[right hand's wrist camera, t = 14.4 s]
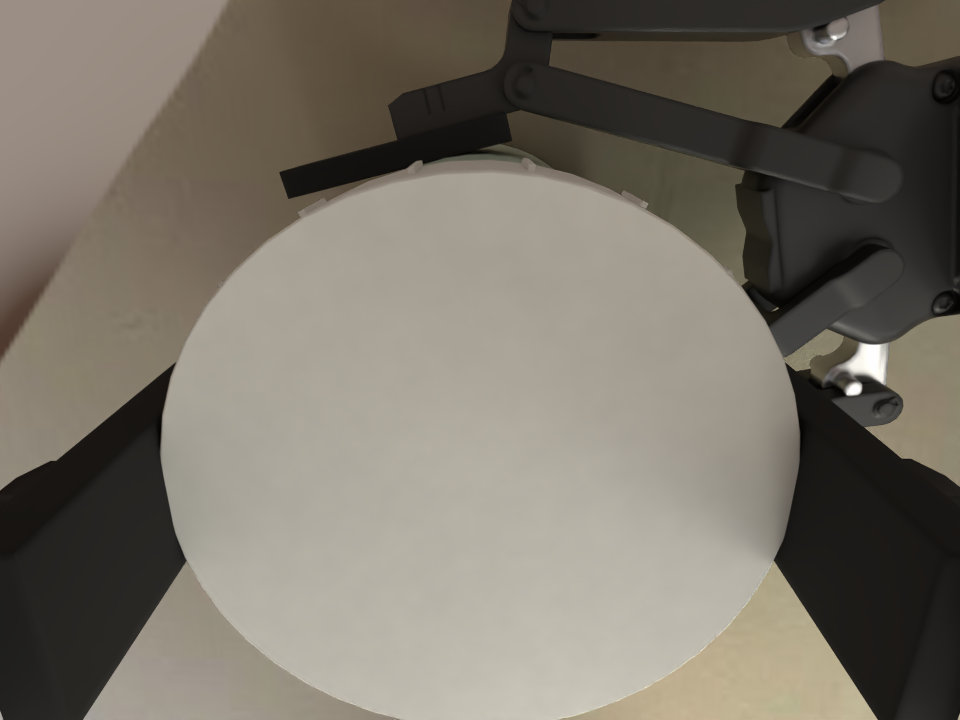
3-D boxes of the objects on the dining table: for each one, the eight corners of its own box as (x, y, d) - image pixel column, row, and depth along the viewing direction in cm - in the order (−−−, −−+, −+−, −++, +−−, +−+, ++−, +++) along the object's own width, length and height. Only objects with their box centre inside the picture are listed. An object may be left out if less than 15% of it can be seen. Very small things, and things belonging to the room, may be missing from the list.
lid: (877, 359, 11) (949, 404, 10) (554, 719, 15) (564, 802, 13) (370, 20, 10) (346, 0, 8) (123, 518, 13) (65, 583, 11)
